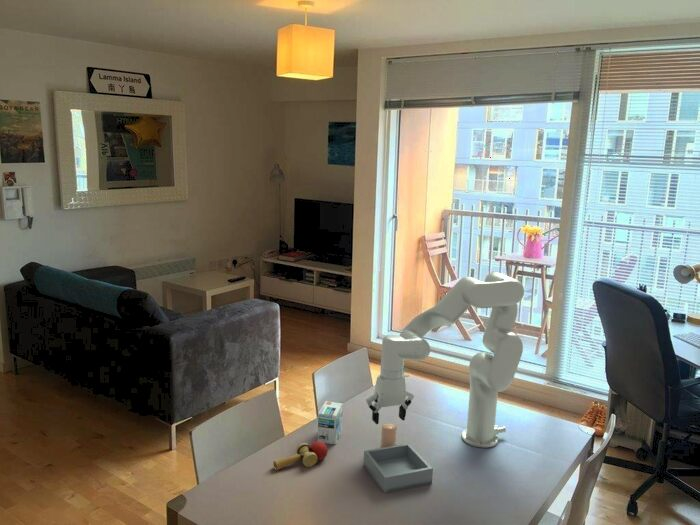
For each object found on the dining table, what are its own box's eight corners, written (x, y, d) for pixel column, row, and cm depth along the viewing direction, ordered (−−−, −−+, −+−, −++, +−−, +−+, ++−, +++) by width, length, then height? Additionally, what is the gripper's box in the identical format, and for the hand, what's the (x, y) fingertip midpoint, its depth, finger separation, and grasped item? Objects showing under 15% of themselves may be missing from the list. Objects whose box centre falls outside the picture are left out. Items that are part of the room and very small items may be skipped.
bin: (408, 457, 188) (408, 443, 187) (431, 483, 173) (433, 468, 172) (363, 465, 182) (364, 450, 181) (384, 493, 167) (385, 477, 167)
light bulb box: (335, 445, 194) (336, 415, 192) (316, 442, 195) (317, 413, 193) (342, 430, 204) (343, 402, 202) (324, 428, 206) (325, 400, 204)
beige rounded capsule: (391, 444, 196) (392, 422, 194) (397, 451, 191) (399, 429, 190) (378, 446, 194) (379, 424, 193) (384, 453, 190) (385, 431, 188)
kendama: (281, 481, 174) (333, 460, 183) (277, 461, 174) (329, 441, 182) (273, 472, 181) (323, 452, 189) (269, 453, 181) (319, 434, 189)
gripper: (409, 366, 194) (406, 412, 197) (363, 370, 188) (360, 419, 191) (420, 374, 187) (416, 422, 191) (372, 379, 181) (369, 429, 184)
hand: (388, 420), depth 191 cm, fingers open, 9 cm apart
